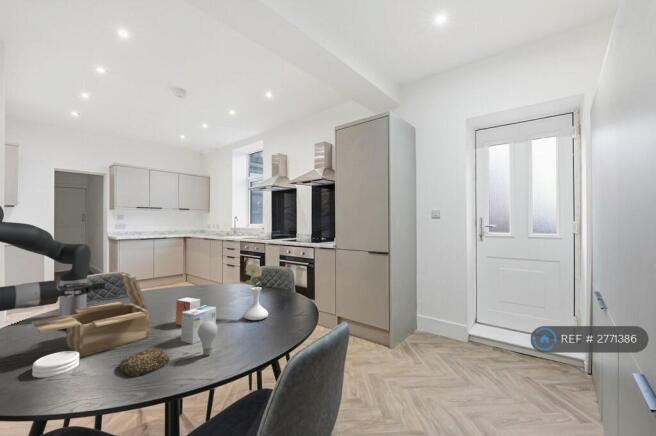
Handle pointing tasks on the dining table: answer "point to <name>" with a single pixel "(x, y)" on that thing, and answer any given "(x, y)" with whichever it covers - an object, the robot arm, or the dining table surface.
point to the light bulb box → (196, 322)
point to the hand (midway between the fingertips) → (104, 285)
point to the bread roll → (144, 362)
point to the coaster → (55, 364)
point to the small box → (185, 307)
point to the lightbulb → (207, 335)
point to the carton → (100, 327)
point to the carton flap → (133, 290)
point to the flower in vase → (255, 296)
